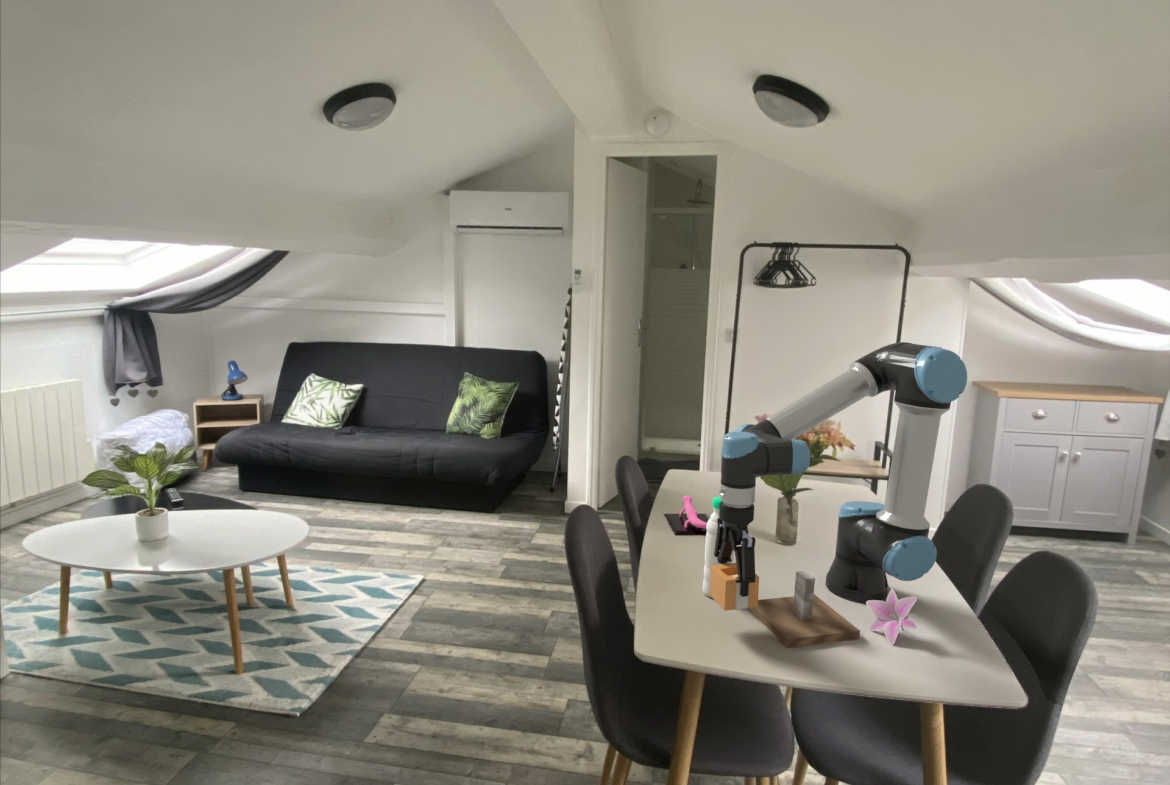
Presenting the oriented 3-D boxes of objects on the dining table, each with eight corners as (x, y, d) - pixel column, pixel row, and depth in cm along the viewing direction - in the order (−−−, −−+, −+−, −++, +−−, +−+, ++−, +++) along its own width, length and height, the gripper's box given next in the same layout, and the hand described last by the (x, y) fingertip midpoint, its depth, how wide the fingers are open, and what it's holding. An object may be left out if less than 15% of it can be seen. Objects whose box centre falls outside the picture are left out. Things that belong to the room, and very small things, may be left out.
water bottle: (709, 601, 170) (715, 504, 166) (697, 588, 177) (703, 494, 173) (735, 598, 172) (742, 502, 168) (722, 586, 179) (728, 493, 175)
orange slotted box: (740, 590, 161) (742, 560, 160) (757, 606, 153) (759, 575, 152) (709, 594, 159) (710, 564, 158) (724, 610, 151) (725, 579, 150)
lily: (862, 620, 165) (854, 593, 161) (911, 606, 163) (904, 577, 159) (883, 661, 154) (875, 633, 150) (936, 646, 153) (930, 617, 148)
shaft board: (813, 601, 172) (817, 556, 170) (859, 638, 154) (864, 588, 152) (747, 608, 167) (751, 561, 165) (787, 647, 150) (791, 595, 148)
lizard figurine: (705, 514, 234) (706, 494, 232) (721, 537, 214) (722, 514, 213) (662, 514, 232) (663, 493, 231) (674, 537, 213) (676, 514, 212)
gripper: (701, 489, 161) (698, 580, 165) (743, 520, 141) (738, 623, 145) (731, 487, 163) (726, 577, 167) (776, 517, 143) (770, 619, 147)
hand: (732, 598), depth 156 cm, fingers closed on orange slotted box, 8 cm apart
